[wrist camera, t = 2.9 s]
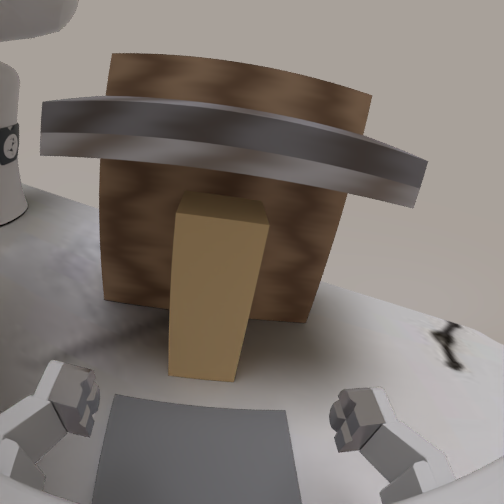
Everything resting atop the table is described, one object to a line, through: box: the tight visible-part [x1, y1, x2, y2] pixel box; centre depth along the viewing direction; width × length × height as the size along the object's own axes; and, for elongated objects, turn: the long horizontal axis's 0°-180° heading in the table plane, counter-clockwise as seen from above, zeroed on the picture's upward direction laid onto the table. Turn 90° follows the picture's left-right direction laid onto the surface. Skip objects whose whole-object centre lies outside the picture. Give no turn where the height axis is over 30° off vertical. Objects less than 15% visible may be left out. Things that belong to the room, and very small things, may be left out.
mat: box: [92, 394, 302, 504], centre depth 14 cm, size 12×12×1 cm
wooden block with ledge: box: [40, 53, 428, 323], centre depth 23 cm, size 20×15×22 cm
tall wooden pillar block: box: [168, 191, 270, 382], centre depth 21 cm, size 5×4×13 cm
